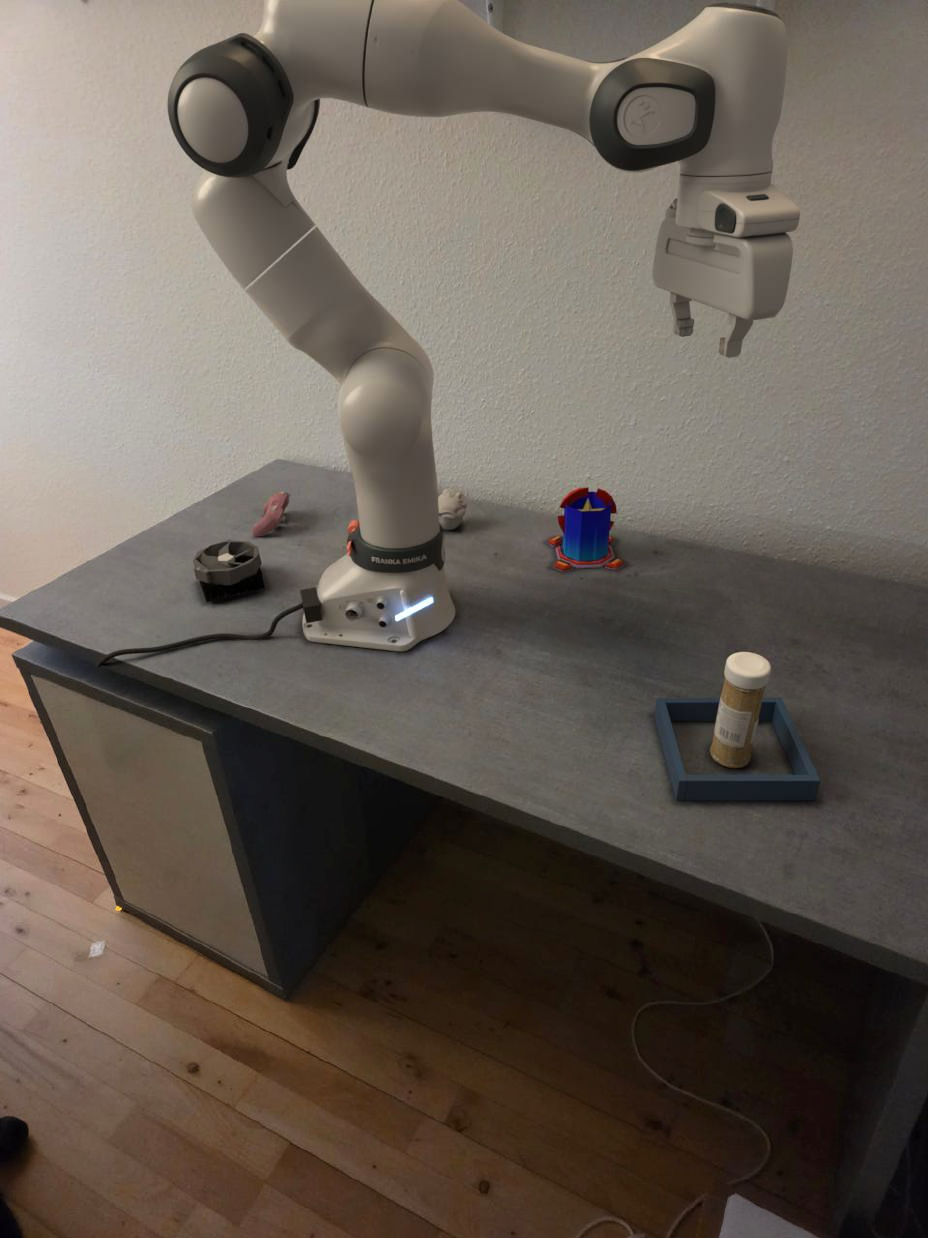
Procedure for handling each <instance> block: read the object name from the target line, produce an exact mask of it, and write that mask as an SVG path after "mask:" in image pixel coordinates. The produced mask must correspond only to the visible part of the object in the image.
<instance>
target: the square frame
mask: <svg viewBox="0 0 928 1238" xmlns="http://www.w3.org/2000/svg"><path fill="white" fill-rule="evenodd" d="M719 703H720V697H657V698H656V703H655V709H654V720H655V724H656V728H657V731H658V736H659V739H660V743H661V747H662V752H663V755H664V759H665V763H666V767H667V771H668V775H669V779H670V783H671V786H672V790H673V795H674V798H675V801H815V800H816V797H817V794H818V790H819V787H820V785H821V778H820V776H819V775H818V772H817V770H816V767H815V765H814V764H813V762H812V759H811V757H810V756H809V753H808V751H807V749H806V746H805V744H804V742H803V740H802V738H801V736H800V734H799V732H798V730H797V727H796V726H795V723H794V722H793V719H792V718H791V715H790V712H789V711H788V709H787V707H786V705H785V703H784V700H783V698H782V697H777V696H775V697H774V696H773V697H770V696H769V697H768V696H767V697H765V696H763V700H762V704H761V709H760V713H759V721H758V722H771V723H772V725H773V728H774V730H775V732H776V735H777V737H778V739H779V742H780V743H781V746H782V748H783V750H784V753H785V755H786V757H787V760H788V762H789V764H790V766H791V769H792V771H793V774H687V773H686V770H685V767H684V763H683V759H682V756H681V752H680V749H679V745H678V742H677V738H676V734H675V731H674V728H673V723H672V722H716V718H717V713H718V708H719Z"/></svg>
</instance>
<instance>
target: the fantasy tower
mask: <svg viewBox="0 0 928 1238" xmlns="http://www.w3.org/2000/svg"><path fill="white" fill-rule="evenodd" d="M589 489H590V487H589V486H587V487H585V486H584V487H578V488H576V489H573V490H571V491H570V492H569V493H567V495H566V496H565V497H563V499H562V500H561V502H560V505H559V508H560V509H563V515H557V523H558V526H559V528H560V530H561V532H562V535H555V536H553V537H552V538H550V539H549V540H547V542H546V544H547V545H548V546H549V547H551V548H553V549H554V552H555V556H556V560H557V561H556V562H555V563H554V565H553V566H552V569H553V570H556V571H559V572H560V573H563V574H564V573H567V572H571V571H573V570H575V569H601V568H604V569H607V570H612V571H619V570H620V569H622V568H623V567H625V566H626V564H625V563H624V562H623V561H622V560H621V559H620V558H619V557H616V556H615V554H614V553H615V552H614V551H613V548H612V545H614V543H615V541H616V539H615V538H614V537H613V536H612V535H610V531H611V530H612V528H613V526H614V523H615V520H611V516H612V515H613V514H614V515H615V514H617V513H618V510H617V503H616V502H615V500H614V499H613V496H612V495H611V494H610V493H609V492H608V491H607V490H604V489H602V488H598V487H597V490H596V491H589Z"/></svg>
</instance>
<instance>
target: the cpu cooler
mask: <svg viewBox="0 0 928 1238" xmlns="http://www.w3.org/2000/svg"><path fill="white" fill-rule="evenodd" d="M192 563H193V566H194V568H193V572H194V576H195V579H196V580H197V581H199V584H200V587H201V591H202V593H203V597H204V600H205V602H206V603H210V602H212V603H214V602H217V603H218V604H220V603H222V602H227V601H228V600H229V601H230V600H232V599H235V598H240V597H245V596H250V595H254V594H259V591H261V590H264V589H266V585H265V580H264V576H263V571H262V569H261V567H262V564H263V563H262V559H261V555H260V550H259V546H257V545H256V544H254V543H252V542H251V541H247V540H235V539H227V540H224V541H221V542H217V543H214V544H210V545H208V546H206V547H204V548H201V550H199V551H198V550H197V552H196V554H195V556H194V558H193V560H192Z"/></svg>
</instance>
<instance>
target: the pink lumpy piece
mask: <svg viewBox="0 0 928 1238" xmlns="http://www.w3.org/2000/svg"><path fill="white" fill-rule="evenodd" d="M290 497H291V493H288V492H286V491H280V490H278V491H277V492H275V493H274V494H272V496H270V498H269V500H268V501H267V502H265V504H264V506H263V507H262V513H263V514H264V515H263V517H261V518H260V520H258V521H257V522H256V523H255V524H254V525H253V527H252V530H251V531H252V534H253V536H255V537H263V536H266V535H268V534H270V533H271V532H272V531H273V530H275V531H276V530H277V529H278V526H279V524H280V523H283V522H285V520H286V515H285V514H284V512H285V510H286V508H287V507H288V505H289V503H290Z"/></svg>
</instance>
